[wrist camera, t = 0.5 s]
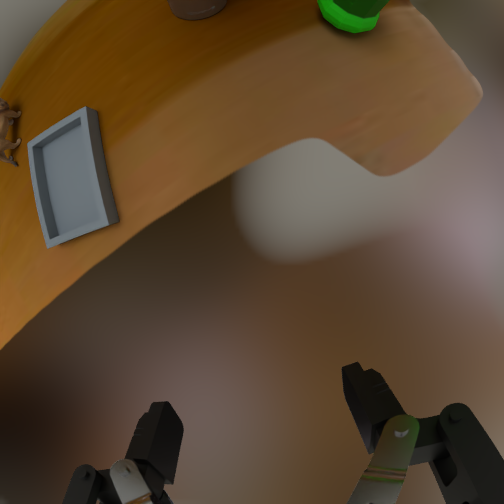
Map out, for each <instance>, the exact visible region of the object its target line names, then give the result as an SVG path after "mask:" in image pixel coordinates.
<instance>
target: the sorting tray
mask: <svg viewBox="0 0 504 504" xmlns="http://www.w3.org/2000/svg"><path fill="white" fill-rule="evenodd" d="M27 145H28V155H29V164H30V171H31V178H32V185H33V190H34V196H35V201H36V206H37V210H38V215H39V219H40V223H41V227H42V231H43V235H44V239H45V242H46V246H47V249H48V248H51V247H53V246H56V245H58V244H61V243H63V242H66V241H68V240H71V239H73V238H76V237H79V236H81V235H84V234H86V233H89V232H92V231H94V230H97V229H100V228H103V227H105V226H108V225H111V224H114V223H117V222H120V221H119V217H118V214H117V210H116V206H115V202H114V198H113V194H112V190H111V186H110V181H109V177H108V172H107V167H106V163H105V157H104V152H103V147H102V141H101V135H100V129H99V122H98V115H97V111H96V110H93V109H91V108H89V107H87V106H85V107H83V108H82V109H80V110H78V111H76V112H75V113H73V114H71V115H69V116H68V117H66V118H64V119H63V120H61V121H60V122H58V123H56V124H55V125H53V126H52V127H50V128H49V129H47V130H46V131H44V132H43V133H41V134H40V135H38V136H37V137H36V138H34V139H33V140H31V141H30V142H29V143H27Z"/></svg>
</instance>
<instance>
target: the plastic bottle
mask: <svg viewBox="0 0 504 504" xmlns="http://www.w3.org/2000/svg"><path fill="white" fill-rule="evenodd" d="M388 1H389V0H318V5H319V8H320V10H321V13H322V15H323V18H325V19H326V20H327V21H328V22H330V23H331V24H332V25H334V26H335V27H336V28H338V29H341V30H344V31H348V32H351V33H359V32H364V31H369V30H372V29H373V28H374V27H375V25H376V23H377V20H378V18H379V14H380V10H381V9H382V8H383V7H384V6H385V5H386V4H387V3H388Z"/></svg>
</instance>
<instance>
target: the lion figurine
mask: <svg viewBox="0 0 504 504" xmlns="http://www.w3.org/2000/svg"><path fill="white" fill-rule="evenodd" d="M20 115H21V111H18V112H17V113H16V112H14V111H12V110H9V105H8V104H7V102H6V101H4V100H3V99H2V98H0V160H1V161H4V162H7V163H12V164H13V165H15V167H16V166H17V163H16V162H14V161H13V160H12V156H9V159H8V158H7V157H6V156H5V153H4V150H6V149H8V148H11V149H14V148H15V147H17V146H18V145H19V144H20V143H21V139H20V138H19V139H17V142H16V143H12V142H10V141H9V140H5V137H6V135H7V132H8V126H9V125H12V124H13V119H10V120H8V118H10V117H15V118H17V117H19V116H20Z"/></svg>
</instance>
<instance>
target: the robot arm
mask: <svg viewBox="0 0 504 504" xmlns="http://www.w3.org/2000/svg"><path fill="white" fill-rule="evenodd" d="M167 1H168V3H169V6H170V8H171V10H172V12H173V14H174V15H176V16H177V17H179V18H182V19H186V20H198V19H204V18H207V17H210V16H212V15H214V14H216V13H217V12H219V11H220V10H221V9H222V8H223V7H224V6H225V5H226V2H227V0H167ZM342 380H343V391H344V395H345V399H346V402H347V404H348V406H349V409H350V411H351V413H352V416H353V418H354V420H355V423H356V425H357V427H358V430H359V432H360V434H361V437H362V439H363V442H364V444H365V446H366V449H367V451H368V454H371V453H374V454H373V456H372V458H371V461H370V463H369V465H368V467H367V469H366V470H365V471H364V472H363V474H362V476H361V477H360V479H359V481H358V483H357V486H356V487H355V489H354V491H353V493H352V495H351V497H350V498H349V500H348V502H347V504H395V502H396V500H397V497H398V495H399V493H400V490H401V487H402V485H403V482H404V479H405V476H406V472H407V469H408V466H410V465H415V464H420V463H424V462H428V463H429V465H430V467H431V469H432V471H433V474H434V476H435V478H436V481H437V483H438V485H439V488H440V490H441V492H442V495H443V497H444V500H445V502H446V504H504V460H503V458H502V456H501V455H500V453H499V452H498V450H497V448H496V447H495V445H494V444H493V442H492V441H491V439H490V438H489V436H488V434H487V433H486V431H485V430H484V429H483V427H482V426H481V424H480V423H479V421H478V420H477V418H476V417H475V416H474V414H473V413H472V411H471V410H470V408H469V407H467V406H466V405H465V404H462V403H454V404H450V405H448V406H446V407H445V408H444V409H443V410H442V412H441V413H440V415H437V416H433V417H428V418H421V419H419V418H414V417H413V416H411V415H408V414H406V413H405V411H404V410H403V408H402V407H401V405H400V403H399V402H398V400H397V399H396V397H395V396H394V394H393V392H392V391H391V390H390V388H389V387H388V385H387V383H386V382H385V380H384V379H383V377H382V376H381V374H380V373H378V372H376V371H375V370H373V369H369V370H366V371H363V369H362V367H361V365H360V364H359V363H358V362H355V363H352V364H350V365H346V366H344V367H342ZM183 431H184V428H183V424H182V421H181V420H180V418H179V417H178V415H177V414H176V412H175V410H174V409H173V407H172V406H171V404H170V403H169V402H168V401H165V402H153V403H152V404H151V406H150V409H149V412H147V413H145V414H144V415H143V416H142V417H141V418H140V419H139V421H138V424H137V426H136V429H135V432H134V436H133V437H132V440H131V442H130V445H129V448H128V451H127V453H126V456H125V459H122V460H119V461H117V462H116V463H114V464H113V465H112V467H111V469H106V470H99V471H97V470H95V468H93V467H92V466H91V465H88V464H85V465H81V466H79V467H78V468H77V469H76V470H75V471H74V473H73V476H72V478H71V481H70V484H69V486H68V489H67V492H66V495H65V497H64V500H63V503H62V504H96V501H97V500H99V501H100V503H99V504H174V503H173V502H172V500H171V499H170V497H169V496H168V494H167V493H166V491H165V490H164V489H163V488H164V484H173V483H174V477H175V473H176V467H177V462H178V457H179V452H180V446H181V442H182V437H183Z"/></svg>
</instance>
